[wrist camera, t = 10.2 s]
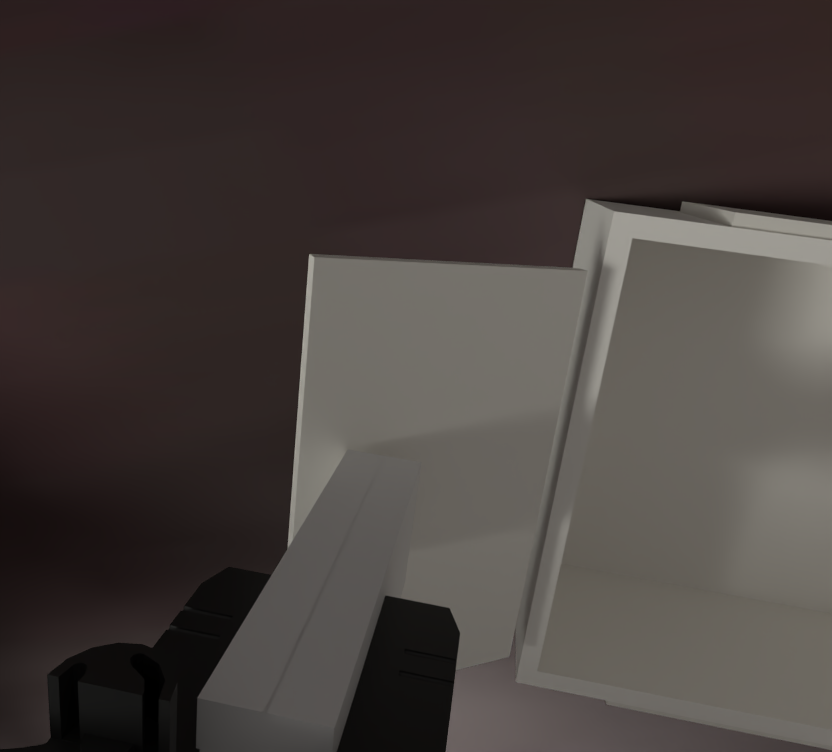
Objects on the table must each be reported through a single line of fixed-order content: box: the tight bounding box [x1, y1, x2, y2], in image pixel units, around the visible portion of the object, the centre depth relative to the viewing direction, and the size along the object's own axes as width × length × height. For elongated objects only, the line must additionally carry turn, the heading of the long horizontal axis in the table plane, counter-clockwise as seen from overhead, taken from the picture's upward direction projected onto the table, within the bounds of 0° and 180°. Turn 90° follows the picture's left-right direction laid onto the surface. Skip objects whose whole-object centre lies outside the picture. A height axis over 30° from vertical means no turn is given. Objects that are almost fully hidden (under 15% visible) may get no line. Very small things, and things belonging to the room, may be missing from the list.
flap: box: [288, 254, 588, 670], centre depth 15 cm, size 6×10×1 cm
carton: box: [516, 199, 832, 750], centre depth 19 cm, size 15×13×6 cm
